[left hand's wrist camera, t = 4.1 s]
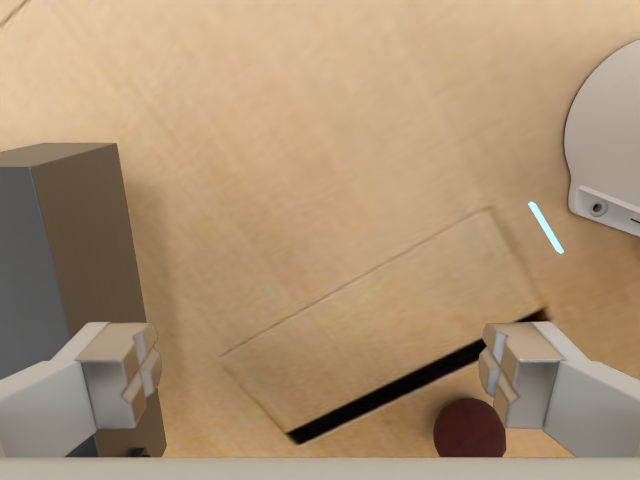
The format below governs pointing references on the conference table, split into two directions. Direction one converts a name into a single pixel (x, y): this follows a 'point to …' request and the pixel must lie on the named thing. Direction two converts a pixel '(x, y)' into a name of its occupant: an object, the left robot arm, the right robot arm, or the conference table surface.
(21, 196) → the bar
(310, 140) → the conference table surface
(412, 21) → the conference table surface
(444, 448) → the potato
